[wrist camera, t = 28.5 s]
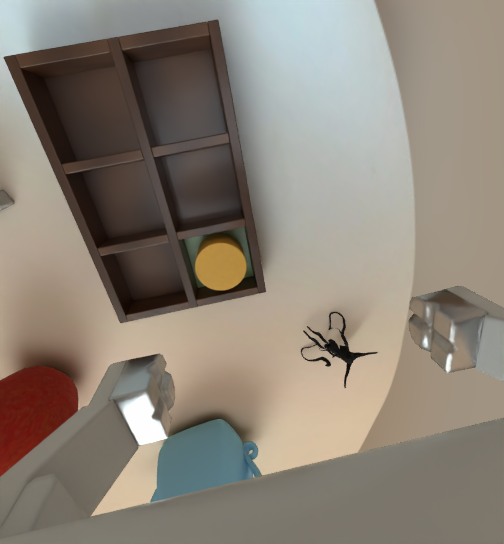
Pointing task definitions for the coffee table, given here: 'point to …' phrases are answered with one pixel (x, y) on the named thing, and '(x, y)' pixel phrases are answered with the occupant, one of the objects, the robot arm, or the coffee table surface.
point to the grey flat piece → (4, 200)
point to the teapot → (203, 460)
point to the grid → (145, 159)
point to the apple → (32, 410)
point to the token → (220, 262)
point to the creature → (336, 349)
